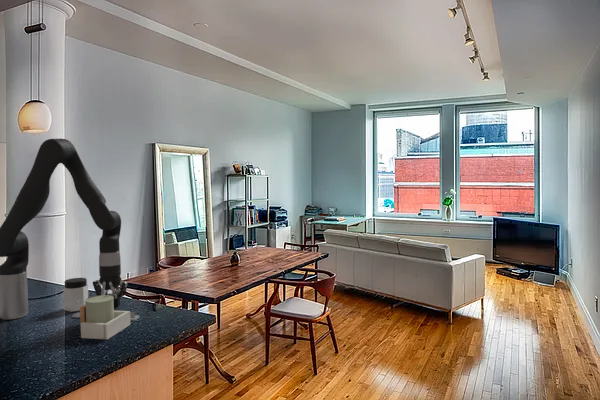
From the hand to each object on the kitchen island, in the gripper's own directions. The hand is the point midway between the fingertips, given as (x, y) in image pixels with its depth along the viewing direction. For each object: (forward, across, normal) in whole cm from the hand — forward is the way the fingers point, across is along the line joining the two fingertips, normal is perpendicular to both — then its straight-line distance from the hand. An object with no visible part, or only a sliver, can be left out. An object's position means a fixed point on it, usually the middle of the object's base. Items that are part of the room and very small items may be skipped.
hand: (111, 307), depth 164 cm
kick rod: (+3, +4, -7) cm, 8 cm away
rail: (+4, -2, 0) cm, 5 cm away
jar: (+5, -21, +9) cm, 24 cm away
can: (+4, +4, -13) cm, 14 cm away
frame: (+4, +6, -13) cm, 15 cm away
